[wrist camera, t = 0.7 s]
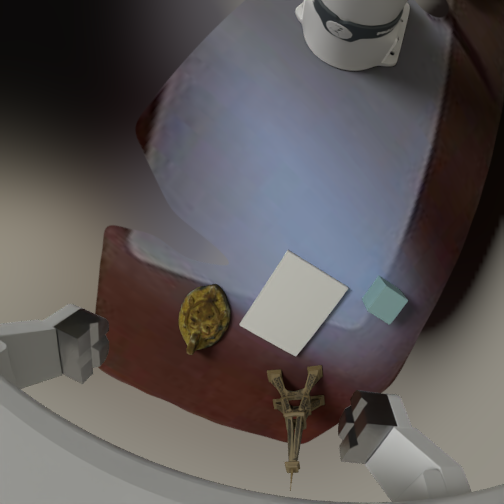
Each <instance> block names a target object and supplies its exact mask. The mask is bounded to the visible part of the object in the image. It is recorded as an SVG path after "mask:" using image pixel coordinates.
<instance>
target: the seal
mask: <svg viewBox="0 0 504 504" xmlns="http://www.w3.org/2000/svg"><path fill="white" fill-rule="evenodd" d="M229 322H230V308H229V304H228V302H227V298H226V296H225V294H224V292H223V290H222V289H221V288H220V287H219V286H218V285H217V284H212V285H208V286H200V287H198V288H196V289H195V290H193V291H192V292H190V293H189V294H188V295H187V296H186V298H185V299H184V302H183V304H182V306H181V309H180V313H179V329H180V331H181V334H182V336H183V339H184V340H185V342H186V344H187V345H188V346H187V349H186V350H187V353H188V354H190V355H192V354H193V353H194V352H195V351H196V350H199V349H203V348H207V347H209V346H212V345H214V344H215V343H217V342H218V341H219V340H220V339H221V337H222V336H223V334H224V332H225V331H226V330H227V328H228V325H229Z"/></svg>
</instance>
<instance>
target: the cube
mask: <svg viewBox="0 0 504 504" xmlns="http://www.w3.org/2000/svg"><path fill="white" fill-rule="evenodd" d="M362 300H363V302H364V305H365V307H366V309H367V311H368V312H370V313H372V314H373V315H375V316H376V317H378V318H380V319H381V320H383V321H384V322H386V323H388V324H389V325H390V324H391V323H392V321H393V320H394V319H395V318H396V316H397V315H398V314H399V312H400V311H401V310H402V308H403V307H404V306H405V304H406V303H407V302H408V300H407V298H406V297H405V296H404V294H403V293H402V292H401V291H400V289H398V288H397V287H395V286H394V285H392V284H391V283H389V282H388V281H386V280H385V279H383V278H382V277H380V276H378V277H377V278H376V280H375V281H374V283H373V284H372V285H371V287H370V288H369V290H368V291H367V292H366V294H365V295H364V296H363V298H362Z"/></svg>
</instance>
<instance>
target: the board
mask: <svg viewBox="0 0 504 504" xmlns="http://www.w3.org/2000/svg"><path fill="white" fill-rule="evenodd" d="M347 290H348V287H347V286H346V285H344V284H343V283H341V282H339V281H338V280H336V279H335V278H333V277H331V276H330V275H328V274H327V273H325V272H323V271H322V270H320V269H319V268H317V267H315V266H314V265H312V264H310V263H309V262H307V261H306V260H304V259H302V258H301V257H299V256H297V255H296V254H294V253H292V252H291V251H289V250H287V252H286V253H285V255H284V256H283V258H282V260H281V261H280V263H279V264H278V266H277V267H276V269H275V270H274V272H273V274H272V275H271V277H270V278H269V280H268V281H267V283H266V284H265V286H264V287H263V289H262V291H261V292H260V294H259V295H258V297H257V298H256V300H255V301H254V303H253V304H252V306H251V307H250V309H249V310H248V312H247V313H246V315H245V316H244V318H243V319H242V321H241V322H240V326H242V327H244V328H245V329H247V330H249V331H251V332H252V333H254V334H256V335H258V336H259V337H261V338H263V339H265V340H267V341H268V342H270V343H272V344H274V345H276V346H277V347H279V348H281V349H283V350H285V351H287V352H288V353H290V354H292V355H294V356H297V355H298V353H299V352H300V351H301V350H302V348H303V347H304V346H305V345H306V344H307V342H308V341H309V340H310V339H311V337H312V336H313V335H314V333H315V332H316V331H317V330H318V328H319V327H320V326H321V324H322V323H323V322H324V321H325V319H326V318H327V317H328V315H329V314H330V313H331V311H332V310H333V309H334V307H335V306H336V305H337V303H338V302H339V301H340V299H341V298H342V296H343V295H344V294H345V292H346V291H347Z"/></svg>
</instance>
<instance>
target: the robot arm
mask: <svg viewBox="0 0 504 504" xmlns="http://www.w3.org/2000/svg"><path fill="white" fill-rule="evenodd" d="M407 1H408V0H304V2H303V3H302V4H300V5H299V6H298V7H297V8H296V11H295V14H296V16H297V18H298V20H299V21H300V22H301V24H302V26H303V32H304V37H305V40H306V43H307V45H308V46H309V48H310V49H311V50H312V52H313V53H314V54H315V55H316V56H317V57H318V58H320V59H321V60H322V61H324V62H326V63H327V64H329V65H331V66H334V67H336V68H340V69H344V70H351V71H358V70H365V69H368V68H371V67H374V66H394V65H395V64H396V63H397V60H398V56H399V53H400V49H401V45H402V41H403V37H404V33H405V29H406V24H407V20H408V16H409V11H410V6H409V4H408V3H407ZM390 52H391V53H393V55H391V54H390ZM108 331H109V323H108V321H107V320H106V319H105V318H103V317H101V316H98V315H96V314H94V313H92V312H90V311H87V310H85V309H83V308H80V307H79V306H76V305H74V304H68V305H66V306H65V307H63V308H62V309H60V310H58V311H57V312H55V313H54V314H52V315H51V316H49V317H47V318H46V319H44V320H43V321H41V320H30V321H21V322H11V323H2V324H0V504H504V484H502V485H499V486H495V487H491V488H487V489H483V490H479V491H474V492H471V489H470V486H469V484H468V481H467V478H466V476H465V473H464V471H463V468H462V466H461V465H460V464H458V463H457V462H456V461H455V460H454V459H452V458H451V457H450V456H449V455H447V454H446V453H445V452H444V451H443V450H442V449H440V448H439V447H438V446H437V445H435V444H434V443H433V442H432V441H431V440H430V439H428V438H427V437H426V436H425V435H424V434H422V433H421V432H420V431H419V430H418V429H417V428H412V426H411V423H410V420H409V417H408V415H407V412H406V410H405V407H404V404H403V401H402V399H401V397H400V396H399V395H395V394H381V393H373V392H366V391H360V390H356V391H355V392H354V393H353V395H352V397H351V399H350V401H351V406H349V407H347V408H346V409H345V410H344V411H343V413H342V415H341V418H340V421H339V426H338V435H339V437H340V438H341V439H342V440H343V441H342V443H341V445H340V457H341V461H343V462H351V463H362V464H365V466H366V467H367V468H368V470H369V471H370V473H371V474H372V475H373V477H374V478H375V479H376V481H377V482H378V483H379V485H380V486H381V488H382V489H383V490H384V492H385V493H386V494H387V496H388V497H389V498H390V500H391V501H392V502H382V503H351V502H331V501H317V500H307V499H298V498H290V497H283V496H277V495H271V494H265V493H259V492H255V491H250V490H245V489H240V488H236V487H232V486H227V485H224V484H220V483H216V482H212V481H209V480H205V479H202V478H199V477H195V476H192V475H189V474H186V473H183V472H180V471H177V470H174V469H171V468H168V467H166V466H163V465H160V464H157V463H155V462H152V461H149V460H147V459H145V458H142V457H140V456H138V455H135V454H133V453H131V452H128V451H126V450H124V449H121V448H120V447H117V446H115V445H113V444H111V443H109V442H107V441H105V440H103V439H101V438H99V437H97V436H95V435H93V434H91V433H89V432H87V431H86V430H83V429H82V428H80V427H78V426H77V425H75V424H73V423H71V422H70V421H68V420H66V419H64V418H63V417H61V416H60V415H58V414H56V413H54V412H53V411H51V410H50V409H48V408H47V407H45V406H44V405H42V404H41V403H39V402H38V401H36V400H35V399H33V398H32V397H30V396H29V395H28V394H26V393H25V392H23V391H22V390H21V389H22V388H25V387H28V386H31V385H34V384H37V383H40V382H43V381H46V380H49V379H52V378H55V377H58V376H61V375H62V374H64V375H65V376H67V377H69V378H71V379H73V380H75V381H77V382H79V383H81V384H83V383H84V382H85V381H86V380H87V379H88V378H89V377H90V376H91V375H92V374H93V368H94V367H99V366H101V365H102V363H103V362H104V361H105V359H106V357H107V355H108V351H109V341H108V339H107V337H106V335H105V334H106V333H107V332H108Z"/></svg>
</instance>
